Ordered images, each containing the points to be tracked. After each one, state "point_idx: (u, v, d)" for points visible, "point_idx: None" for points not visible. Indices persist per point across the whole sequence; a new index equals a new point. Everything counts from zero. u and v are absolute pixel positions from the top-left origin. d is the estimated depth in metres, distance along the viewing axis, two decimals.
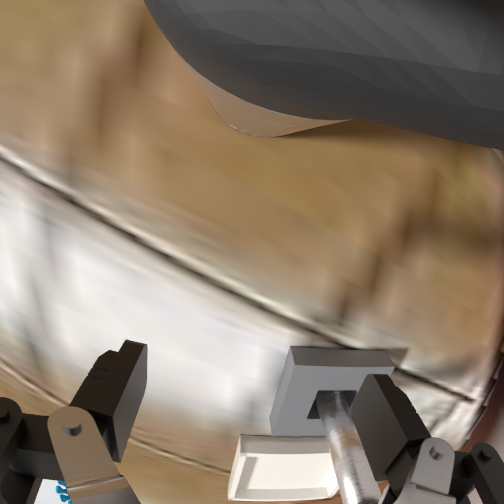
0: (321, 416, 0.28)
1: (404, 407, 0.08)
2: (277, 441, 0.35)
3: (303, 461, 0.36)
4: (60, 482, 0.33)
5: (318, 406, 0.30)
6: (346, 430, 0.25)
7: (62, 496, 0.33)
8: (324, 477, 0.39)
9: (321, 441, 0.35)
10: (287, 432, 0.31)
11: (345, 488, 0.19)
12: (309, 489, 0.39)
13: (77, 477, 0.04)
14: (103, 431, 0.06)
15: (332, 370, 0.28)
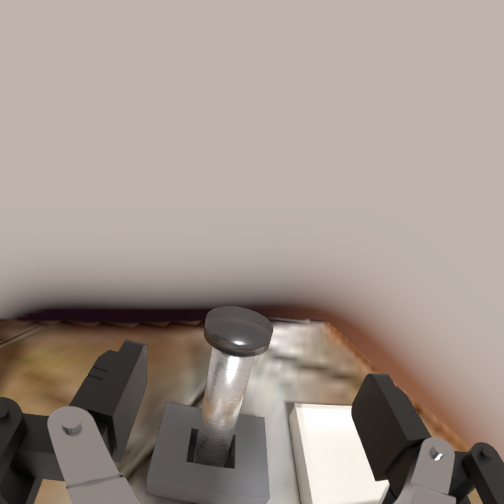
0: (213, 451, 0.24)
1: (404, 407, 0.08)
2: (302, 493, 0.24)
3: (338, 458, 0.29)
4: None
5: (211, 459, 0.25)
6: (201, 416, 0.24)
7: None
8: None
9: (296, 451, 0.30)
10: (262, 482, 0.23)
11: (222, 379, 0.22)
12: None
13: (77, 477, 0.04)
14: (103, 431, 0.06)
15: (159, 450, 0.24)
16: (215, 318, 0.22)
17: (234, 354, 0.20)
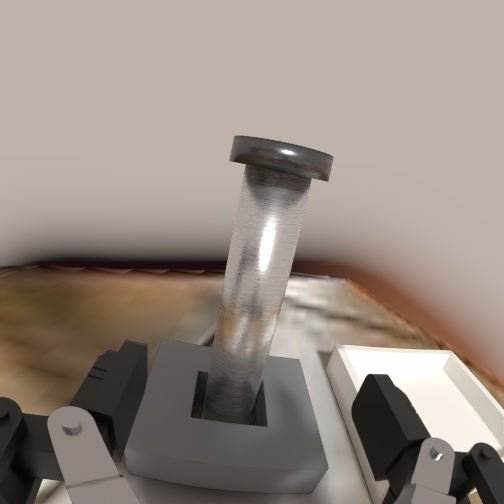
0: (234, 396, 0.17)
1: (404, 407, 0.08)
2: (366, 462, 0.16)
3: None
4: None
5: (230, 413, 0.17)
6: (216, 332, 0.17)
7: None
8: (424, 378, 0.27)
9: (345, 406, 0.22)
10: (312, 446, 0.15)
11: (257, 235, 0.14)
12: (456, 383, 0.26)
13: (77, 477, 0.04)
14: (103, 431, 0.06)
15: (147, 400, 0.17)
16: None
17: (283, 169, 0.12)
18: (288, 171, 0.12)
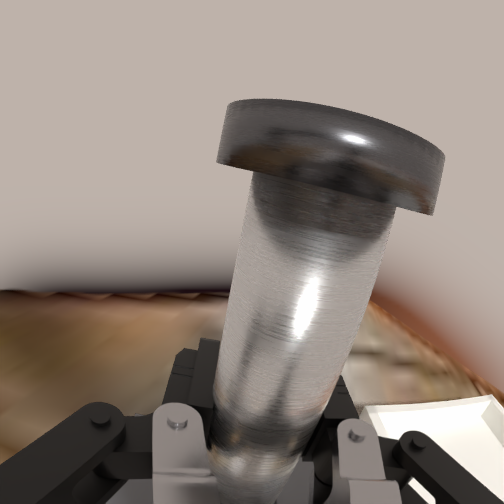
0: None
1: None
2: None
3: None
4: None
5: None
6: None
7: None
8: (464, 432, 0.19)
9: None
10: None
11: (281, 338, 0.06)
12: (497, 434, 0.17)
13: (166, 467, 0.05)
14: (202, 423, 0.07)
15: None
16: None
17: (361, 189, 0.04)
18: (374, 196, 0.04)
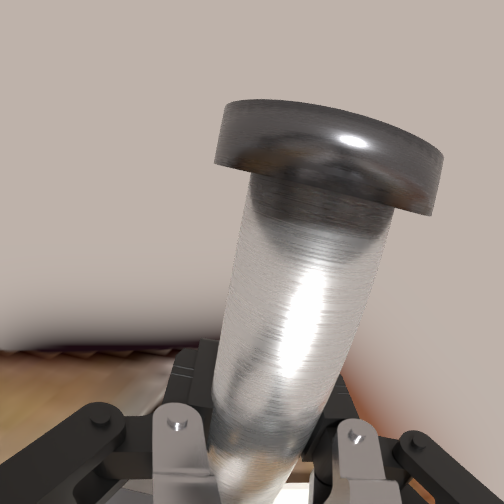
0: None
1: None
2: None
3: None
4: None
5: None
6: None
7: None
8: None
9: None
10: None
11: (279, 339, 0.06)
12: None
13: (166, 467, 0.05)
14: (202, 423, 0.07)
15: None
16: None
17: (359, 190, 0.04)
18: (371, 197, 0.04)
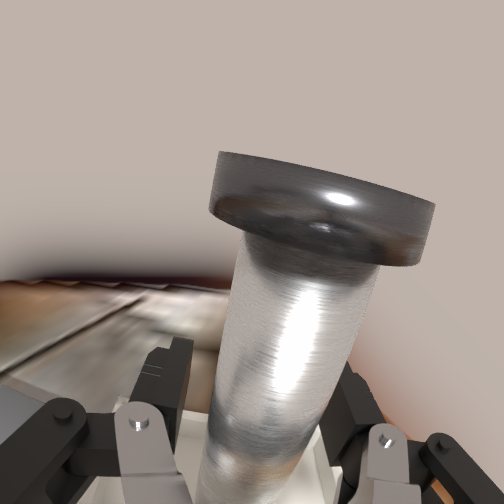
0: None
1: (358, 392, 0.09)
2: None
3: None
4: None
5: None
6: (200, 472, 0.09)
7: None
8: None
9: None
10: None
11: (271, 376, 0.06)
12: (321, 478, 0.16)
13: (134, 468, 0.05)
14: (167, 423, 0.07)
15: None
16: None
17: (346, 252, 0.05)
18: (358, 258, 0.05)
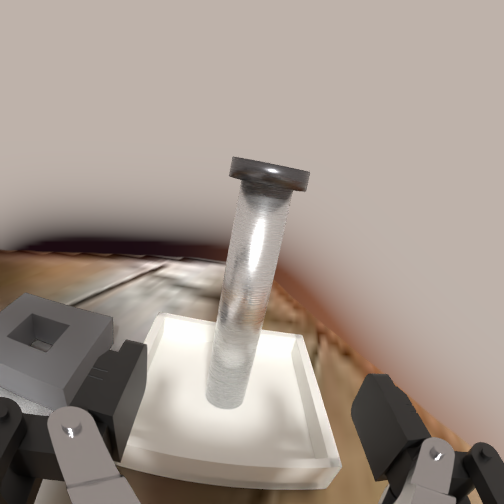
0: (233, 364, 0.21)
1: (404, 407, 0.08)
2: None
3: (195, 382, 0.25)
4: None
5: (230, 380, 0.21)
6: (218, 311, 0.21)
7: None
8: (257, 358, 0.30)
9: None
10: (65, 372, 0.19)
11: (250, 233, 0.18)
12: (295, 369, 0.29)
13: (77, 477, 0.04)
14: (103, 431, 0.06)
15: None
16: None
17: (269, 183, 0.17)
18: (272, 185, 0.17)
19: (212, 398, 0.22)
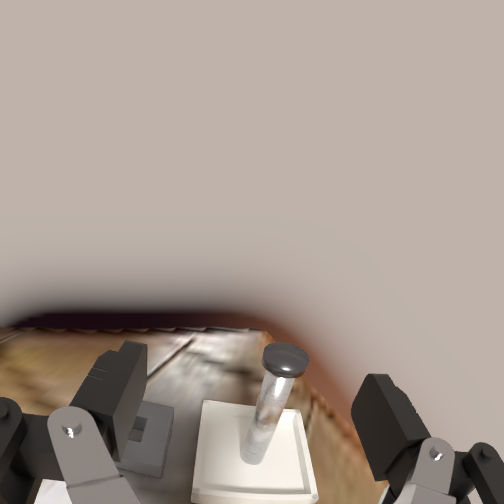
0: (259, 445, 0.33)
1: (404, 407, 0.08)
2: None
3: (233, 448, 0.37)
4: None
5: (257, 452, 0.34)
6: (252, 420, 0.34)
7: None
8: None
9: None
10: (158, 455, 0.31)
11: (273, 393, 0.31)
12: (295, 434, 0.41)
13: (77, 477, 0.04)
14: (103, 431, 0.06)
15: None
16: (270, 352, 0.31)
17: (285, 377, 0.29)
18: (287, 378, 0.29)
19: (245, 459, 0.35)
